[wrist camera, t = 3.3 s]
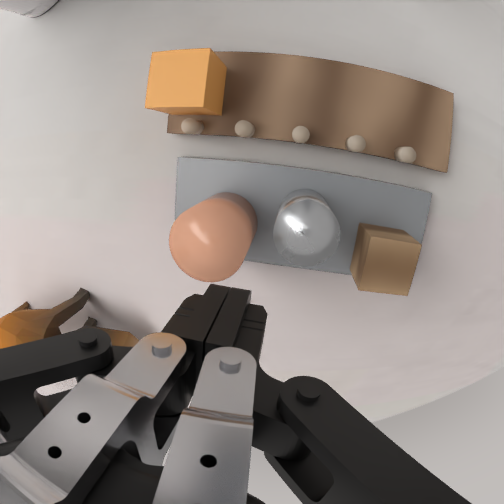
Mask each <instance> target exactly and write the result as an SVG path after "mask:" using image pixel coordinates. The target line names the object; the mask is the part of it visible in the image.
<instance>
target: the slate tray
mask: <svg viewBox="0 0 504 504" xmlns="http://www.w3.org/2000/svg"><path fill="white" fill-rule="evenodd" d="M297 189H310V190H313V191H315V192H317V193H319V194H320V195H321V196H322V197H323V198H324V199H325V201H326V202H327V204H328V206H329V207H330V209H331V210H332V212H333V214H334V215H335V217H336V218H337V220H338V223H339V226H340V241H339V245H338V247H337V249H336V251H335V252H334V254H333V255H332V256H331V257H330V258H329V259H328V260H326V261H325V262H323V263H321V264H319V265H315V266H309V267H304V266H298V265H295V264H292V263H290V262H289V261H287V260H286V259H285V258H283V257H282V256H281V254H280V253H279V252H278V250H277V248H276V246H275V243H274V239H273V229H274V225H275V221H276V217H277V213H278V210H279V206H280V204H281V201H282V200H283V198H284V197H285V196H286V195H287V194H289V193H290V192H292V191H294V190H297ZM221 192H231V193H235V194H238V195H240V196H242V197H243V198H245V199H246V200H247V201H248V202H249V203H250V204H251V205H252V207H253V208H254V210H255V213H256V215H257V221H258V226H257V232H256V235H255V237H254V239H253V241H252V243H251V245H250V248H249V250H248V252H247V254H246V256H245V258H244V260H245V261H252V262H260V263H267V264H274V265H281V266H288V267H296V268H303V269H310V270H318V271H325V272H333V273H340V274H348V275H352V273H351V271H350V265H351V261H352V256H353V251H354V246H355V241H356V236H357V231H358V226H359V223H365V224H371V225H377V226H383V227H389V228H395V229H400V230H404V231H405V232H407V233H408V234H409V235H410V236H412V237H413V238H414V239H415V240H417V241H418V242H419V243H420V244H421V243H422V239H423V235H424V231H425V226H426V222H427V217H428V212H429V207H430V202H431V196H432V193H430V192H427V191H423V190H419V189H415V188H410V187H406V186H401V185H397V184H392V183H387V182H382V181H377V180H372V179H367V178H361V177H356V176H350V175H344V174H338V173H332V172H326V171H319V170H313V169H306V168H298V167H291V166H283V165H274V164H266V163H256V162H246V161H235V160H223V159H210V158H194V157H178V162H177V179H176V201H175V220H176V219H177V218H178V216H179V215H180V214H182V213H183V212H184V211H186V210H188V209H189V208H191V207H193V206H195V205H196V204H198V203H200V202H202V201H203V200H205V199H207V198H209V197H211V196H212V195H214V194H217V193H221Z"/></svg>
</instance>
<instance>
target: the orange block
mask: <svg viewBox="0 0 504 504" xmlns="http://www.w3.org/2000/svg"><path fill="white" fill-rule="evenodd" d="M226 71H227V67H226V66H225V64H224V63H223V62H222V61H221V60H220V59H219V58H218V56H217V55H216V54H215V53H214V52H213V51H212V50H211V48H200V49H182V50H170V51H160V52H152V57H151V63H150V70H149V77H148V85H147V93H146V102H145V108H147V109H152V110H156V111H160V112H164V113H168V114H172V115H220V116H222V107H223V98H224V88H225V80H226Z"/></svg>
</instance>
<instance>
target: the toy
mask: <svg viewBox="0 0 504 504" xmlns="http://www.w3.org/2000/svg"><path fill="white" fill-rule="evenodd" d="M88 299H89V293H88V291H87V290H85V289H82V288H80V290H79V291H78V292H77V293H76V294H75V296H74V297H73V298H71V299H69V300H67V301H65V302H63V303H62V304H60V305H58V306H56V307H54V308H52V309H35V310H28V307H29V304H28V302H25V303H24V304H23V305H21V306H20V307H18V308H17V309H15V310H14V311H13V312H12V313H9V314H7V315H5V316H3V317H2V318H0V349H2V348H6V347H10V346H15V345H19V344H23V343H28V342H32V341H36V340H40V339H44V338H48V337H52V336H56V335H60V334H61V332H60V330H59V326H60V325H61V324H63V323H64V322H65V321H67V320H68V319H69V318H70V317H72V316H73V315H74V314H76V313H77V312H78V311H80V310H81V309H82V308H83V307H84V305H85V304H86V302H87V300H88ZM26 309H27V310H26ZM96 325H97V323H96V320H95V319H93V318H90V317H88V320H87V321H86V323H85V324H84V326H83V327H82V328H80V329H85V328H97V329H100V330H103V331H105V332H106V333H108V335H109V336H110V338H111V343H112V345H113V346H127V347H134V346H135V345H136V344H137V343H138V342H139V340H138V339H137V338H136V337H135V336H133V335H132V334H131V333H130V332H126V331H119V330H112V329H106V328H100V327H96ZM80 329H78V330H80Z"/></svg>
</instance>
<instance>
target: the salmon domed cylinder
mask: <svg viewBox="0 0 504 504" xmlns="http://www.w3.org/2000/svg"><path fill="white" fill-rule="evenodd" d="M257 226H258V221H257V215H256V213H255V210H254V208H253V207H252V205H251V204H250V203H249V202H248V201H247V200H246V199H245V198H243V197H242V196H240V195H238V194H235V193H231V192H221V193H217V194H214V195H212V196H211V197H209V198H207V199H205V200H203V201H202V202H200V203H198V204H196V205H195V206H193V207H191V208H189V209H188V210H186V211H184V212H183V213H182V214H180V215H179V216H178V218H177V219H176V220H175V222H174V223H173V225H172V228H171V231H170V235H169V246H170V251H171V254H172V256H173V259H174V260H175V262H176V264H177V265H178V266H179V268H180V269H181V270H182V271H183V272H185V273H186V274H187V275H189V276H190V277H192V278H194V279H197V280H200V281H204V282H218V281H222V280H225V279H227V278H229V277H230V276H232V275H233V274H234V273H235V272H236V271H237V270H238V269H239V268H240V266H241V265H242V263H243V260H244V258H245V256H246V254H247V252H248V250H249V248H250V245H251V243H252V241H253V239H254V237H255V235H256V232H257Z"/></svg>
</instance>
